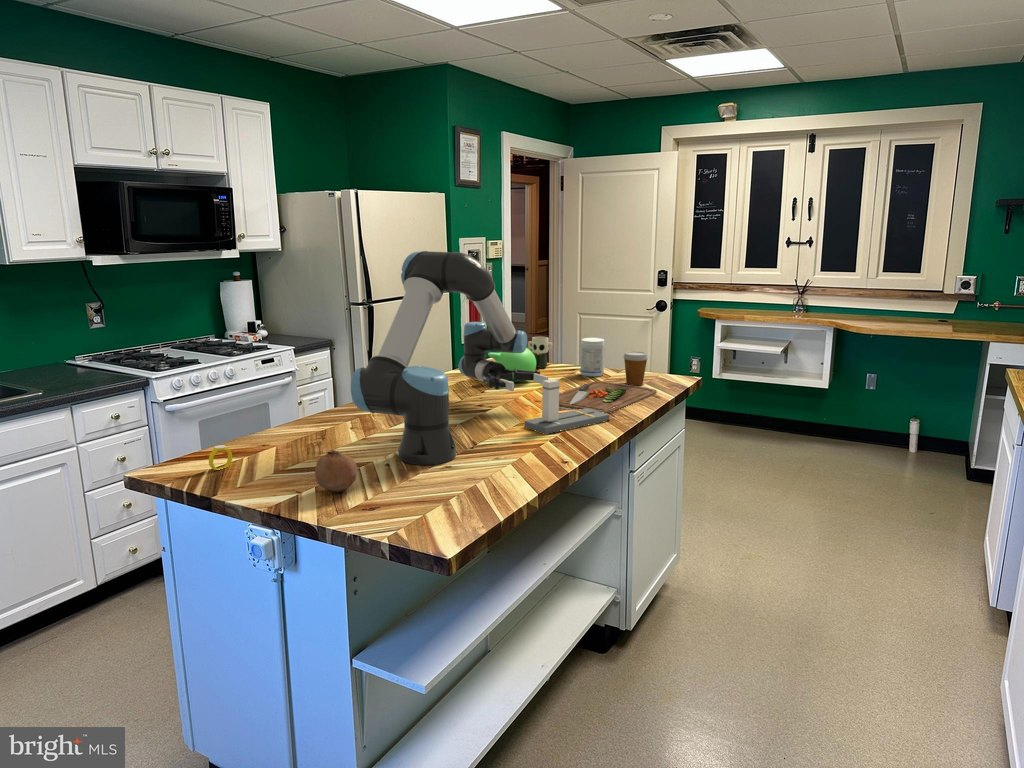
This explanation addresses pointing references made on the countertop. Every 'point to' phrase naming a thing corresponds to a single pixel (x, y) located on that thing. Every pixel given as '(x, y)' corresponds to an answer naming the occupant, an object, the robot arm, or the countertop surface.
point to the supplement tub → (592, 357)
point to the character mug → (540, 350)
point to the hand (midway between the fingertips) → (530, 384)
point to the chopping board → (603, 396)
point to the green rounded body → (516, 360)
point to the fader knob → (550, 400)
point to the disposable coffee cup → (635, 367)
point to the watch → (216, 449)
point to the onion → (335, 471)
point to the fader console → (567, 421)
